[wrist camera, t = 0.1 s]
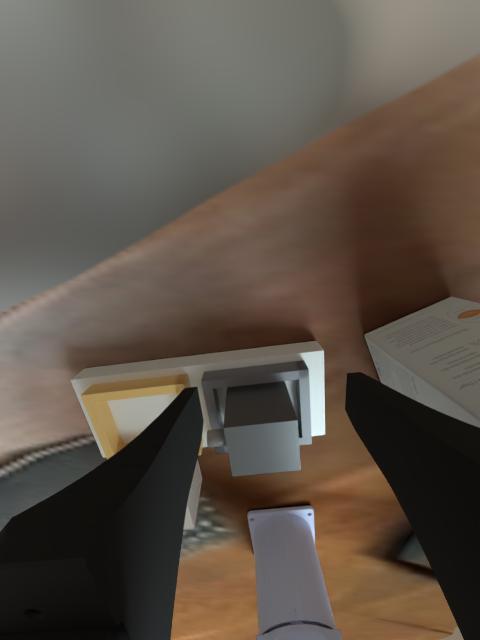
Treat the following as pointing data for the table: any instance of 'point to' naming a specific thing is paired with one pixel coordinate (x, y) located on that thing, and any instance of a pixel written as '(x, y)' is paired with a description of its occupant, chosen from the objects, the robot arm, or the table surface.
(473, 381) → the small box
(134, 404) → the white base platform
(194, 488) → the plug
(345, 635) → the table surface
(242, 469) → the twin plug
